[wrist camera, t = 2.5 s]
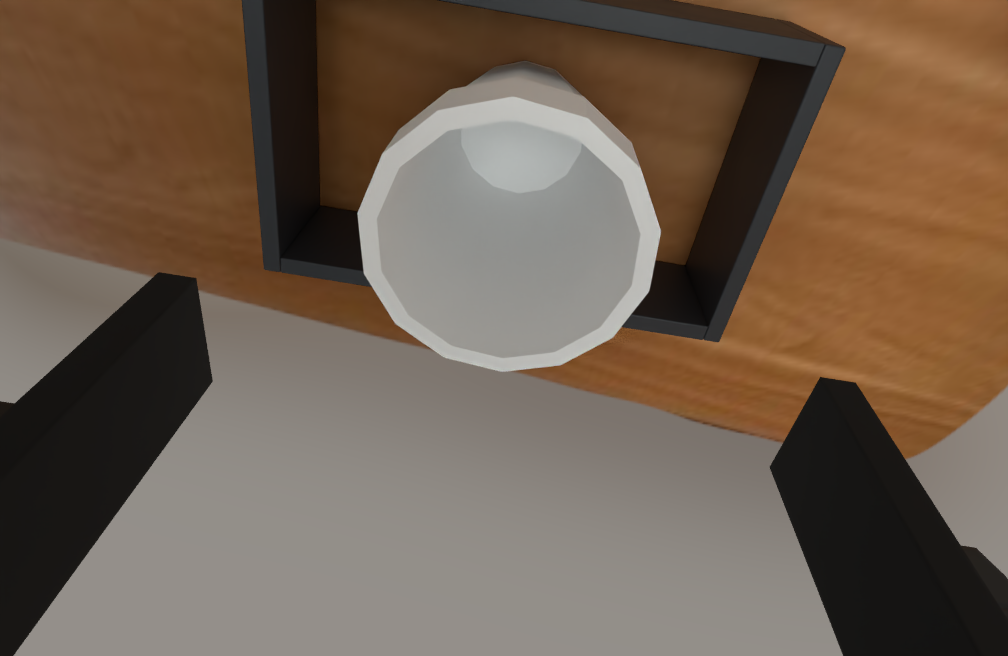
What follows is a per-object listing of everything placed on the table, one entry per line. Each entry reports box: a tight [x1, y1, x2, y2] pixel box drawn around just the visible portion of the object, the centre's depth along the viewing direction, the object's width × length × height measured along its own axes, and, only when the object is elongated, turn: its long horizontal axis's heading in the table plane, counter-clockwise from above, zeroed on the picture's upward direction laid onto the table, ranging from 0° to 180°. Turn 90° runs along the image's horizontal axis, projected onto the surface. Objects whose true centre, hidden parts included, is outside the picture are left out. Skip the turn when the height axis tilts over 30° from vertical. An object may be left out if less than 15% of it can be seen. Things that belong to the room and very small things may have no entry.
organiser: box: [242, 0, 846, 342], centre depth 28 cm, size 22×13×6 cm, turn 81°
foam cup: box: [357, 61, 661, 372], centre depth 25 cm, size 10×9×13 cm
